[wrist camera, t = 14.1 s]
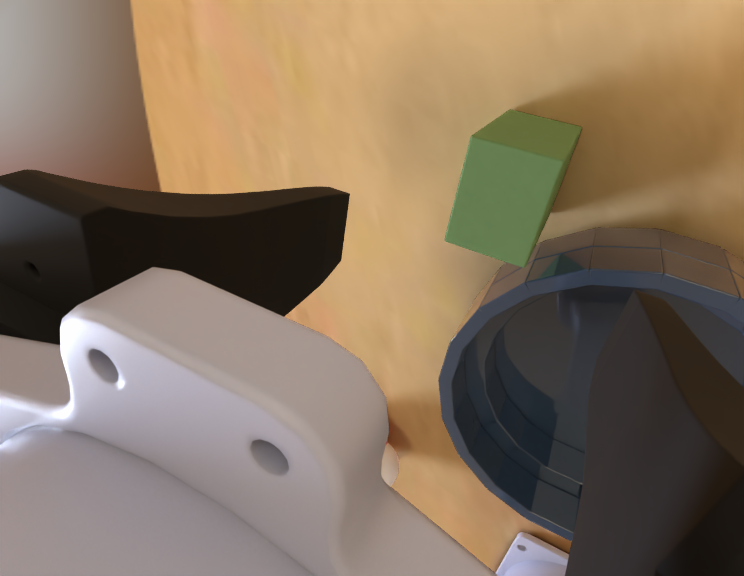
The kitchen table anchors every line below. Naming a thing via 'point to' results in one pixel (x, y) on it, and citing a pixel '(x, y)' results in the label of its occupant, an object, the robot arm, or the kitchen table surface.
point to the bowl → (570, 354)
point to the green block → (510, 185)
